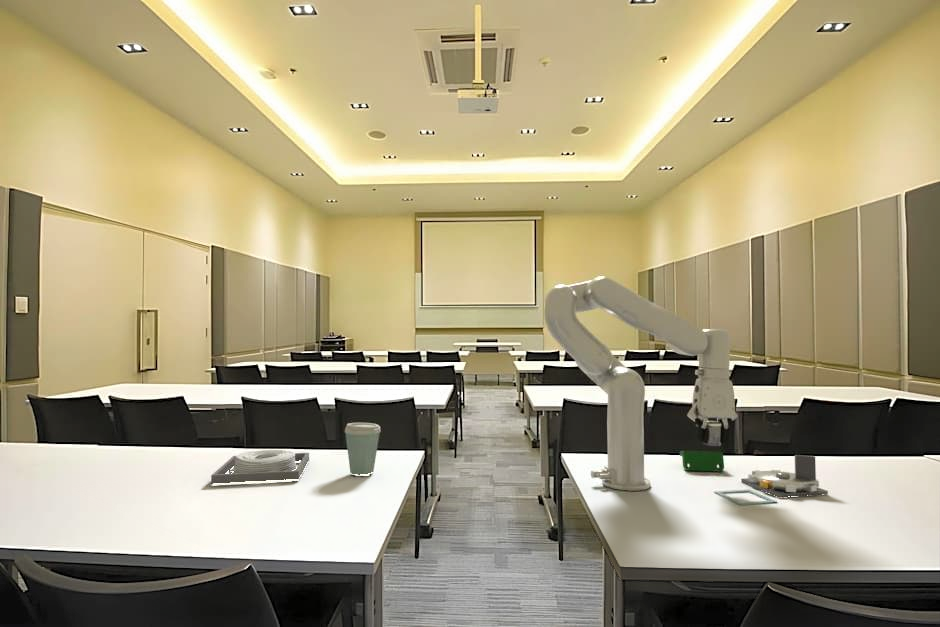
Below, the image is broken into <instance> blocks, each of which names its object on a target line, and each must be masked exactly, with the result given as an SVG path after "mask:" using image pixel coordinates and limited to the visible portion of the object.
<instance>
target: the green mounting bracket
mask: <svg viewBox="0 0 940 627" xmlns="http://www.w3.org/2000/svg"><path fill="white" fill-rule="evenodd" d="M679 457H682V467H683V468H684V470H686V471H699V472H700V471H701V472H722V471H724V469H725V460H724V452H723V451H706V450H705V451H703V450H701V451H699V450H698V451H697V450H681V451H679ZM688 465H689V466H688Z"/></svg>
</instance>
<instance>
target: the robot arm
mask: <svg viewBox="0 0 940 627" xmlns="http://www.w3.org/2000/svg"><path fill="white" fill-rule="evenodd" d="M544 302H545V305H544V313H543V314H544V315H543V316H544V321H545V325H546V328H547V330H548V332H549V334H550V336H551V337H552V338H553V339H554V341H556V343H557V344H558V345H559V346H560V347H561V348H562V349H563V350H564V351H565V352H566V353H567V354H568V355H569V356H570V357H571V358H572V359H573V360H574V361H575V363H576V366H577V367H578V368H579V369H580V370H581V371H582V372H583V373H584V374H585V375H586V376H587V377H588V378H589V379H591V381H593V383H595V384H596V385H597V386H598V387H599V388H600V389H601V390H602V391H603V393H605V394H606V395H607V410H606V411H607V414H606V420H607V421H606V426H607V427H606V430H607V431H606V432H607V465H604V468H602V469H601V470H591V471H590V476H591V478H592V479H596V478H599V480H602V484H603V485H604V486H606V487H607V488H611V489H613V490H619V491H626V490H627V491H628V492H629V491H630V492H631V491H633V492H634V491H636V492H637V491H644V490H645V491H646V490H647V489H649V488H650V487H651V481H650V480H649V478H646V477H645V441H644V439H645V437H644V436H645V435H644V434H645V432H644V411H645V410H644V408H645V397H646V387H645V382H644V380H643V378H642V376H641V375H640V374H639V373H638V372H637V371H636V370H633V369H631V368H629V367H626V366H625V365H624V364H623V363H622V362H621V361H620V360H619V359H618V358H617V357H616V356H614V354H613V353H612V351H611V350H610V347H608V346H607V345H606V344H605V343H604V342H602V341H601V340H599V339H598V338H597V336H595V334H593V333H592V332H591V331H590V330H589V329H588V328H587V327H586V326H585V325H584V324H583V323H582V322H581V321H580V320H579V318H578V317H577V314H578V313H583V312H589V311H593V310H596V309H600V310H602V311H604V312H606V313H607V314H609V315H611V316H613V317H614V318H616V319H617V320H619V321H621V322H623V323H624V324H626V325H627V326H629V327H631V328H633V329H635V330H638V331H640V332H644V333H647V334H650V335H652V336H654V337H657V338H659V339H660V340H663V341H665V342H666V343H667V344H668V347H669V348H670V350H671V351H673V352H674V353H676V354H679V355H682V356H683V355H684V356H691V357H694V356H698V369H695V371H694V374H695V376H697V377H698V378H696V380H695V383H694V388H693V393H692V406H691V407H690V410H689V411H688V413H686V416H687V417H688V418H689V419H690V420H691V421H692V422H694V423H695V426H696V427H698V428H697V429H698V430H697V431H698V432H697V434H698V435H697V438H698V442H699V443H702V444H703V443H704V444H703V445H705V444H707V443H708V429H707V428H706V426H707V422H708V421H709V418H710V419H716V421H717V422H721V445H722V444H723V445H725V444H726V439H727V438H726V437H727V436H726V434H727V433H726V432H727V430H728V428H729V426H730V425H731V423H732V422H733V421H734V420H736V419H737V418H738V414H737V412H736V405H735V404H736V403H735V402H736V401H735V390H734V389H735V388H734V385H733V382H732V380H730V354H731V349H730V348H731V333H730V332H729V331H728V330H726V329H719V328H704V329H701V328H700V327H698V326H697V325H696V324H694V323H692V322H690V321H688V320H687V319H685V318H683V317H681V316H680V315H679V314H676V313H674V312H672V311H670V310H668V309H666V308H664V307H662V306H660V305H658V304H656V303H654V302H652V301H650V300H649V299H646V298H645V297H643V296H641V294H638V293H636V292H634V291H633V290H631V289H629V288H627V287H626V286H624V285H623V284H621V283H619V282H618V281H616V280H615V279H612V278H610V277H608V276H597V277H595V278H594V279H592V280H588V281H584V282H581V283H575V284H570V285H567V284H566V285H565V284H558V285H555V286H553V287H552V288H551V289H550V290H549V291H548V292H547V294H546V295H545V298H544Z"/></svg>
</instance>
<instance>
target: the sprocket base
mask: <svg viewBox="0 0 940 627" xmlns="http://www.w3.org/2000/svg"><path fill="white" fill-rule="evenodd" d="M741 483H742V484H744V485H746V486H749V487H751V486H752V488H754V489H756V488H757V489H756V490H758V489H759V491H761V490H762V491H761V492H763V491H764V492H763V493H765V492H767V493H766V494H768V493H770V494H772V495H771V496H773V495H775V496H777V497H788V496H790V498H792V497H791V496H805V497H810V496H809V495H820V496H823V495H822V494H828V495H829V491H828V490H826V489H823V488H821V487H816V488H817V491H813V492H810V491H806V490H805V491H796V492H786V491H785V490H780V489H774V488H764V487H761V486H760V484H758V483H757V482H750V481H749V480H748V477H747V478H741ZM770 494H769V495H770ZM807 495H808V496H807ZM775 496H774V497H775ZM777 497H776V498H777Z"/></svg>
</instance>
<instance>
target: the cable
mask: <svg viewBox="0 0 940 627" xmlns="http://www.w3.org/2000/svg"><path fill="white" fill-rule="evenodd" d="M295 453H296V452H294V451H291V450H282V449H263V450H252V451H244V452H240V453H237V455H235V456H236V458H235V465H234V468H233V469H232V470H229V471H234V473H253V472H273V471H292V470H294V469H296V467H297V463H295ZM231 473H232V472H229V474H231Z"/></svg>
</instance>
